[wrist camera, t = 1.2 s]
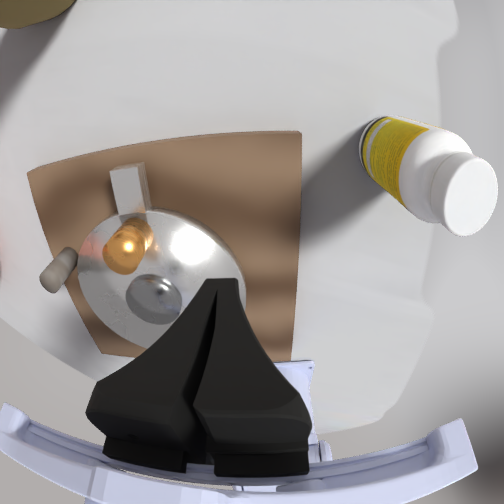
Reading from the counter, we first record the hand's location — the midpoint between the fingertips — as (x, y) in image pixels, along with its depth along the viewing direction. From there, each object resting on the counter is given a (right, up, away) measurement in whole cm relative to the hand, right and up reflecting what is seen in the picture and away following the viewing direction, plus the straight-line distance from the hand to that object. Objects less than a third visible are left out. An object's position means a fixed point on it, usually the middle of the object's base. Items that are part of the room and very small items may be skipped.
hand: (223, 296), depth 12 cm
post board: (-6, 0, +12) cm, 13 cm away
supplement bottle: (+11, +10, +6) cm, 16 cm away
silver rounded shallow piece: (-6, 0, +9) cm, 11 cm away
